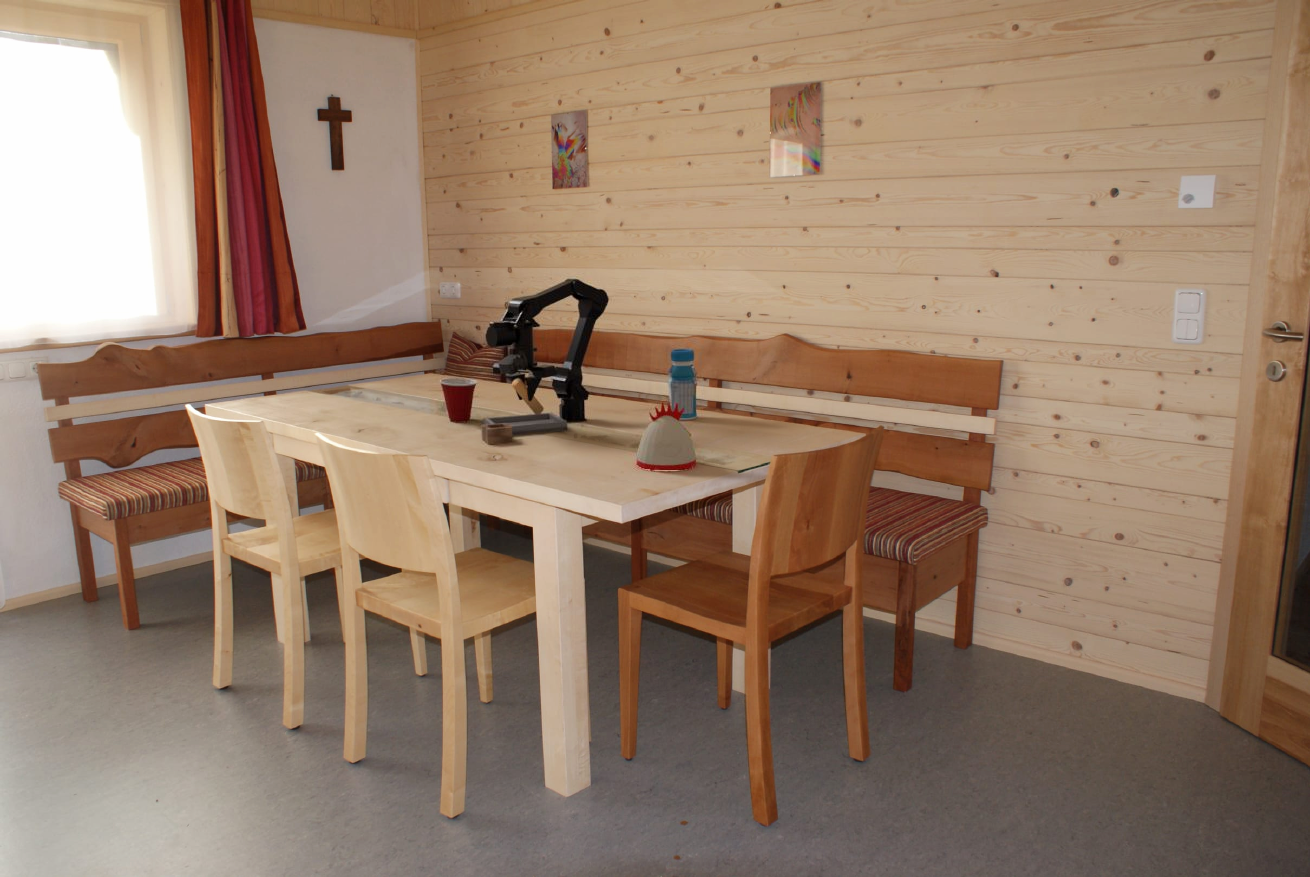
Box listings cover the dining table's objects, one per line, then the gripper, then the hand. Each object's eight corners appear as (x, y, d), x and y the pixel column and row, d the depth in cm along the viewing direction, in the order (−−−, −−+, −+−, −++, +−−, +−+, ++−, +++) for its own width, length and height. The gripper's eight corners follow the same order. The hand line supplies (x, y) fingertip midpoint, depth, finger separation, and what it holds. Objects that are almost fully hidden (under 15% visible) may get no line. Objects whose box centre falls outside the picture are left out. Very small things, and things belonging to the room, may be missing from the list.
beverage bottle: (680, 422, 279) (679, 352, 275) (662, 417, 286) (661, 349, 281) (703, 418, 284) (703, 350, 280) (685, 414, 290) (684, 347, 286)
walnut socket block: (506, 437, 260) (505, 422, 260) (512, 442, 254) (512, 427, 254) (482, 439, 258) (481, 424, 257) (487, 444, 252) (487, 429, 251)
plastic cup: (471, 424, 279) (468, 383, 276) (435, 423, 281) (433, 382, 278) (484, 417, 289) (482, 377, 287) (450, 416, 291) (448, 376, 289)
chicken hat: (699, 471, 222) (699, 406, 219) (638, 473, 221) (638, 408, 218) (692, 457, 236) (691, 396, 233) (635, 459, 235) (634, 397, 232)
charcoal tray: (551, 421, 283) (551, 412, 282) (567, 430, 269) (567, 421, 268) (483, 426, 275) (483, 418, 275) (496, 436, 262) (495, 427, 261)
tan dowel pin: (541, 404, 278) (518, 376, 268) (545, 409, 276) (522, 382, 266) (532, 410, 278) (509, 383, 268) (536, 416, 275) (514, 388, 266)
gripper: (477, 345, 266) (480, 402, 269) (530, 349, 256) (533, 407, 260) (504, 341, 275) (507, 396, 279) (557, 345, 265) (558, 401, 269)
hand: (525, 400), depth 271 cm, fingers closed on tan dowel pin, 3 cm apart
